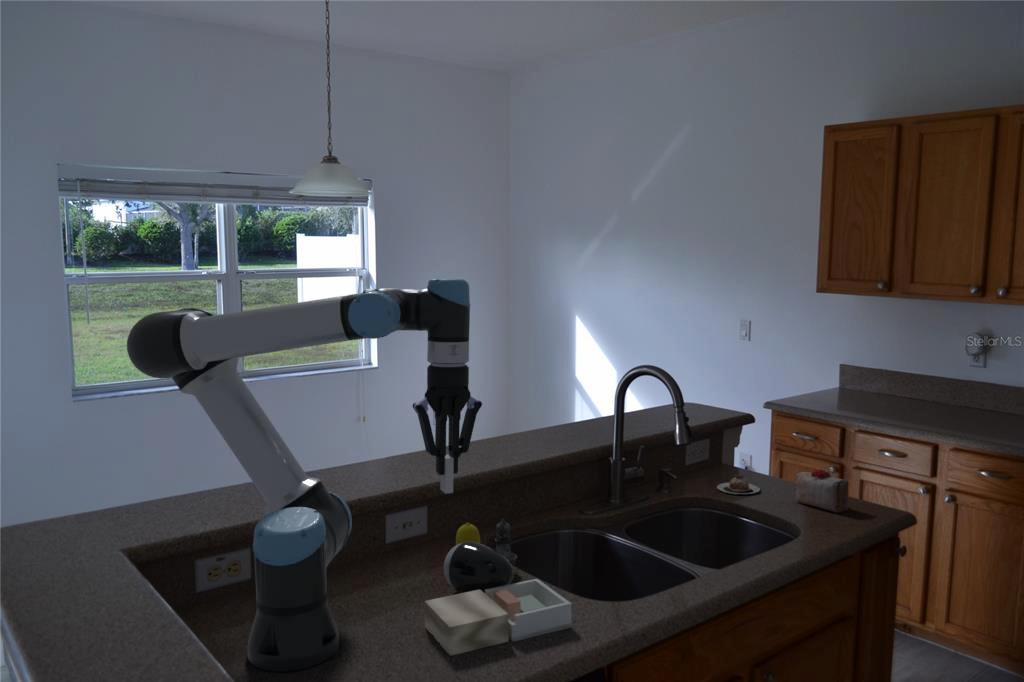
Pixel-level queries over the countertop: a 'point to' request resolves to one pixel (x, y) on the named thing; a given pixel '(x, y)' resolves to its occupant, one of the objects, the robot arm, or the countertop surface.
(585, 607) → the countertop surface
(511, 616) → the terracotta tile
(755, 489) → the pastry
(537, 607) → the sage tile
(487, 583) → the glossy black oval shape
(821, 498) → the food item
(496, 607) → the cream tray box
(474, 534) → the lemon
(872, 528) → the countertop surface
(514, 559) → the dark grey figurine
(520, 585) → the grey bin
